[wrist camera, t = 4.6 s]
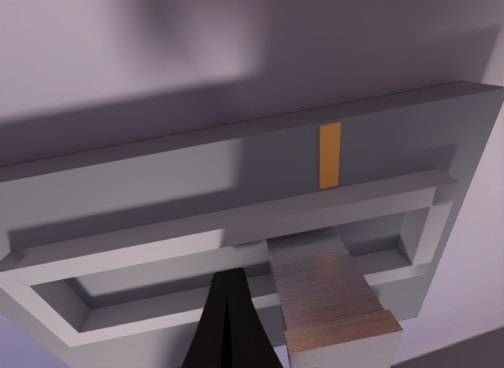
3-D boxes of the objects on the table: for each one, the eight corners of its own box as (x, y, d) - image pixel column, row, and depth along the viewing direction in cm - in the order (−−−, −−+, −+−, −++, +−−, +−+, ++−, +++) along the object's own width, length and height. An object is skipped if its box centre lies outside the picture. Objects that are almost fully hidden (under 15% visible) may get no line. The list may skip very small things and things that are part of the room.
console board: (399, 292, 19) (440, 348, 15) (104, 353, 18) (77, 426, 15) (461, 81, 10) (583, 97, 7) (-73, 180, 10) (-234, 252, 6)
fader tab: (328, 263, 12) (385, 377, 8) (269, 274, 12) (295, 397, 8) (329, 216, 11) (403, 330, 6) (261, 230, 11) (289, 354, 6)
